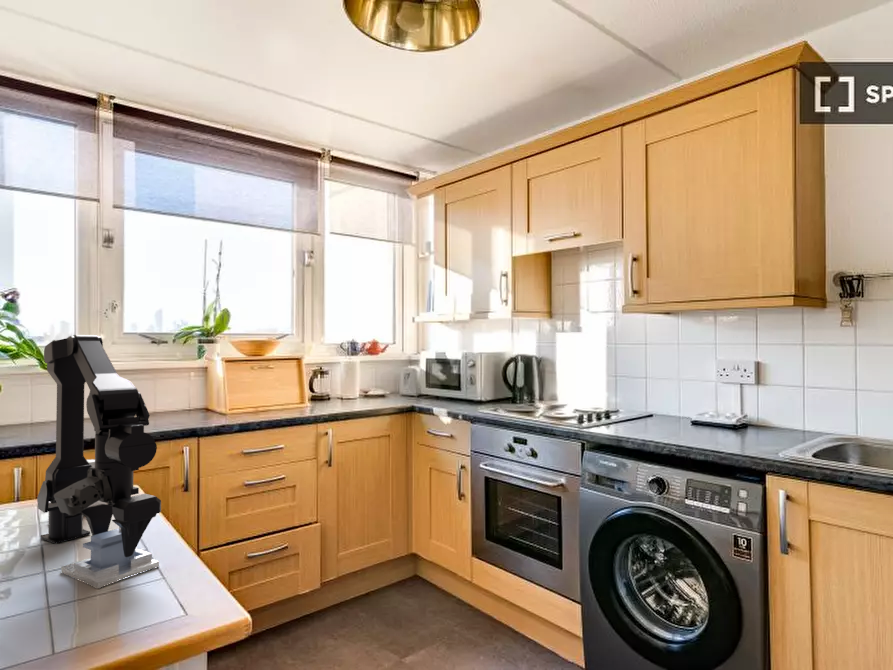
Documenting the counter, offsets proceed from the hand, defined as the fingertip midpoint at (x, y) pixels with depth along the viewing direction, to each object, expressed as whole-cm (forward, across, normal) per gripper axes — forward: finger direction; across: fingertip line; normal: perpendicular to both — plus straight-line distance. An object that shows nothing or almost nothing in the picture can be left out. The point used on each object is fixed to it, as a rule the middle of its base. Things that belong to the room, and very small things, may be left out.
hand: (113, 551), depth 94 cm
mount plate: (+3, -1, 0) cm, 4 cm away
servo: (+2, 0, 0) cm, 2 cm away
